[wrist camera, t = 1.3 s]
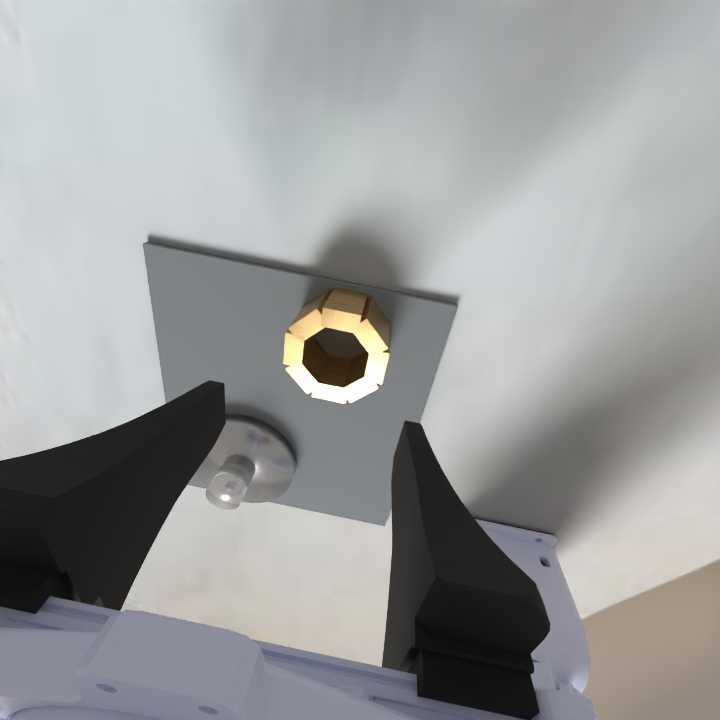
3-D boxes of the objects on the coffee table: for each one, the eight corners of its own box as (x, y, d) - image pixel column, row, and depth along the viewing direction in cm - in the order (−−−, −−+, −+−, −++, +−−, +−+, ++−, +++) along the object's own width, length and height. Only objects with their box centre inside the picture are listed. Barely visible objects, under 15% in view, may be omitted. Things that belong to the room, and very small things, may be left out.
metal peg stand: (300, 426, 25) (284, 469, 22) (293, 498, 29) (277, 544, 26) (192, 404, 25) (158, 442, 22) (199, 479, 29) (171, 522, 26)
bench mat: (456, 304, 20) (457, 306, 19) (385, 522, 30) (384, 526, 29) (147, 242, 20) (142, 243, 20) (179, 478, 30) (177, 482, 30)
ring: (398, 300, 20) (396, 322, 17) (379, 379, 22) (375, 409, 19) (304, 280, 20) (287, 300, 17) (296, 362, 22) (281, 390, 20)
